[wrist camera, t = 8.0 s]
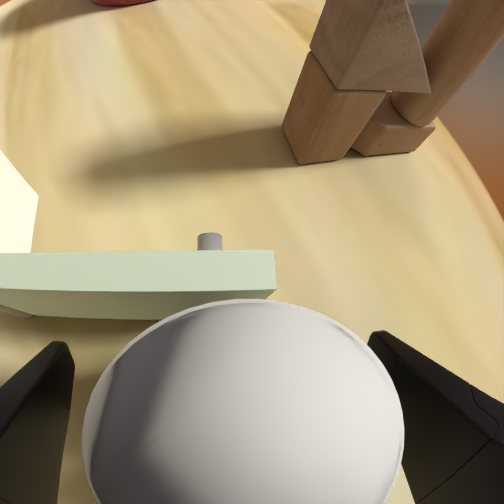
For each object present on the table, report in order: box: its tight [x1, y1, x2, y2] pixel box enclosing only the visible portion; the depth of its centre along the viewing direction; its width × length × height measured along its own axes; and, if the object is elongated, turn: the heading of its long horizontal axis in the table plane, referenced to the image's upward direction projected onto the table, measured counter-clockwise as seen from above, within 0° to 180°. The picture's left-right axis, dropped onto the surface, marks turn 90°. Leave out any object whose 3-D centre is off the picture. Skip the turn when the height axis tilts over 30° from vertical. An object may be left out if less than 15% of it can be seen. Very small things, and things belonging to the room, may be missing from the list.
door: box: [0, 233, 277, 320], centre depth 12 cm, size 14×3×8 cm, turn 93°
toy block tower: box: [282, 0, 504, 164], centre depth 13 cm, size 4×11×18 cm, turn 107°
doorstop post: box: [82, 299, 404, 504], centre depth 9 cm, size 4×4×13 cm
